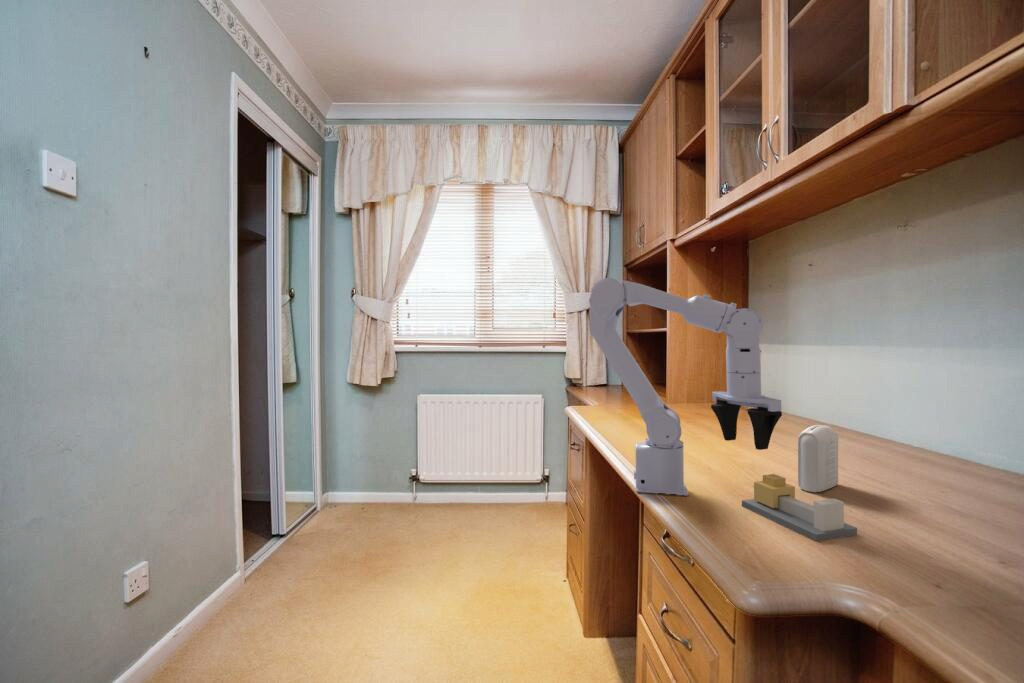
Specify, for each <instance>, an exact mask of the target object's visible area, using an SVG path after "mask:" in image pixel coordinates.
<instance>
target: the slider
mask: <svg viewBox="0 0 1024 683" xmlns="http://www.w3.org/2000/svg"><path fill="white" fill-rule="evenodd" d="M786 479H787V478H786V477H783V476H780V475H777V474H775V473H771V474H763V475H762V480H760V481H757V480H756V481H754V482H753V499H754V500H756V501H758V502H760V503H763V504H765V505H767V506H769V507H772V508H778V496H780V495H787V496H790V497H792V498H795V499H796V487H795V486H794V485H792V484H789V483H786Z"/></svg>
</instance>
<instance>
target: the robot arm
mask: <svg viewBox="0 0 1024 683" xmlns="http://www.w3.org/2000/svg"><path fill="white" fill-rule="evenodd" d="M620 281H621V282H620ZM620 281H619V280H618V279H616V278H612V277H605V278H602V279H600V280H598V282H596V283H595V285H594V286H593V289H592V292H591V294H590V295H589V296H590V297H589V299H588V302H589V303H588V304H589V332H590V334H591V336H592V338H593V339H594V340H595V342H596V344H597V345H598V347H599V348H600V350H601V352H602V353H603V355H604V356H605V358H606V359H607V361H608V363H609V364H610V366H611V367H612V369H613V370H614V372H615V374H616V375H617V377H618V378H619V380H620V381H621V383H622V384H623V386H624V388H625V389H626V391H627V393H628V394H629V396H630V397H631V399H632V400H633V402H634V404H635V405H636V407H637V409H638V411H639V414H640V416H641V418H642V419H643V421H644V423H645V428H646V434H647V437H646V438H645V441H644V442H635V446H634V447H635V448H634V450H635V451H634V453H635V458H634V459H635V462H634V463H635V466H634V469H635V470H633V479H634V480H635V487H636V488H635V490H636V492H637V493H645V494H646V493H647V494H658V493H668V494H667V495H670V494H677V495H676V496H682V495H684V496H685V497H688V496H689V492H688V489H687V486H686V484H685V482H684V480H685V478H684V475H685V474H684V473H685V472H684V468H685V467H684V466H685V465H684V442H683V440H681V437H682V427H681V419H680V416H679V415H678V413H677V412H676V411H675V410H674V409H672V408H670V407H669V406H667V405H666V404H667V403H666V402H664V400H663V398H661V397H660V395H659V394H658V393H657V391H656V390H655V388H654V387H653V385H652V384H651V382H650V381H649V379H648V377H647V376H646V374H645V373H644V371H643V370H642V369H641V366H640V365H639V364H638V362H637V361H636V358H635V357H634V356H633V355H632V352H631V351H630V349H629V348H628V346H627V345H626V344H625V342H624V341H623V339H622V338H621V335H619V333H618V331H617V329H616V327H617V324H618V321H619V319H620V318H619V317H620V314H621V313H622V311H623V310H624V308H625V307H626V305H628V306H629V307H634V306H637V305H639V306H640V305H647V306H650V307H653V308H654V307H655V308H658V309H662V310H666V311H669V312H673V313H676V314H678V315H679V314H680V315H681V316H682V317H683V319H684V321H685V323H686V324H689V325H693V326H694V327H698V328H701V329H702V328H703V329H705V330H708V331H712V332H714V333H717V334H721V333H722V332H724V334H725V335H726V348H725V364H726V365H725V366H726V367H725V368H726V374H725V375H726V391H721V390H719V391H712V392H711V393H712V402H715V403H713V404H711V405H710V408H711V410H712V411H713V413H714V415H715V416H716V419H717V420H718V424H719V426H720V429H721V433H722V435H723V440H724V441H726V442H727V441H736V440H737V439H736V438H737V435H738V434H737V433H738V432H737V429H738V428H737V427H738V417H739V414H740V410H741V407H742V406H743V407H746V408H747V407H749V408H755V409H748V410H747V414H748V417H749V419H750V421H751V422H750V423H751V425H752V430H753V439H754V440H753V442H754V447H755V450H758V451H761V450H768V448H769V444H770V441H771V437H772V434H773V432H774V429H775V426H776V425H777V423H778V422H779V420H780V418H781V417H782V416H783V415H782V414H783V412H782V399H777V398H772V397H769V396H765V394H762V377H761V376H762V369H761V348H760V337H759V336H760V334H761V332H762V330H763V327H764V322H763V321H762V318H761V316H760V315H759V314H758V313H757V312H756V311H755V310H753V309H750V308H745V307H744V308H737V303H734V302H730V304H729V303H727V302H722V301H718V300H715V299H711V295H709V294H706V293H704V294H703V296H701V295H694V296H692V297H690V298H684V297H682V296H678V295H676V294H672V293H670V292H666V291H663V290H661V289H658V288H657V289H656V288H654V287H651V286H648V285H645V284H642V283H638V282H633V281H629V280H620ZM658 495H659V494H658ZM684 496H683V497H684Z"/></svg>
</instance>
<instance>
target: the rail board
mask: <svg viewBox="0 0 1024 683" xmlns="http://www.w3.org/2000/svg"><path fill="white" fill-rule="evenodd" d="M741 506H742V507H743V508H745V509H748V510H750V511H752V512H754V513H756V514H757V515H760V516H762V517H764V518H766V519H768V520H771V521H773V522H775V523H776V524H779V525H781V526H783V527H785V528H787V529H788V530H789V529H790V530H791V531H794V532H796V533H798V534H799V535H802V536H804V537H806V538H809V539H811V540H813V541H814V542H821V541H827V540H831V539H838V538H843V537H849V536H857V535H858V527H856V526H853V525H851V524H849V523H846V522H845V521H844V520H845V519H844V518H845V514H844V513H845V511H844V510H845V509H844V501H842V500H839V499H837V498H827V499H820V500H813V505H812V504H810V503H808V502H805V501H803V500H802V501H801V500H800V499H797V498H796V497H795V498H792V497H790V496H787V495H780V496H778V508H772V507H769V506H767V505H765V504H763V503H760V502H758V501H756V500H754V498H751V499H742V500H741Z"/></svg>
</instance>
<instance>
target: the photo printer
mask: <svg viewBox="0 0 1024 683" xmlns="http://www.w3.org/2000/svg"><path fill="white" fill-rule="evenodd" d="M797 440H798V441H797V447H798V448H797V475H798V476H797V480H798V481H797V483H798V484H797V485H798V488H800V489H801V490H802V491H806V492H810V493H821V492H824V491H827V490H829V489H831V488H834V487H835V486H837V485H838V483H839V436H838V433H837V431H836V430H835V429H834V428H832V427H831V426H829V425H824V424H823V425H822V424H815V425H811V426H809V427H807V428H806V429H804V430H802V432H800V434H799V436H798V439H797Z"/></svg>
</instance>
